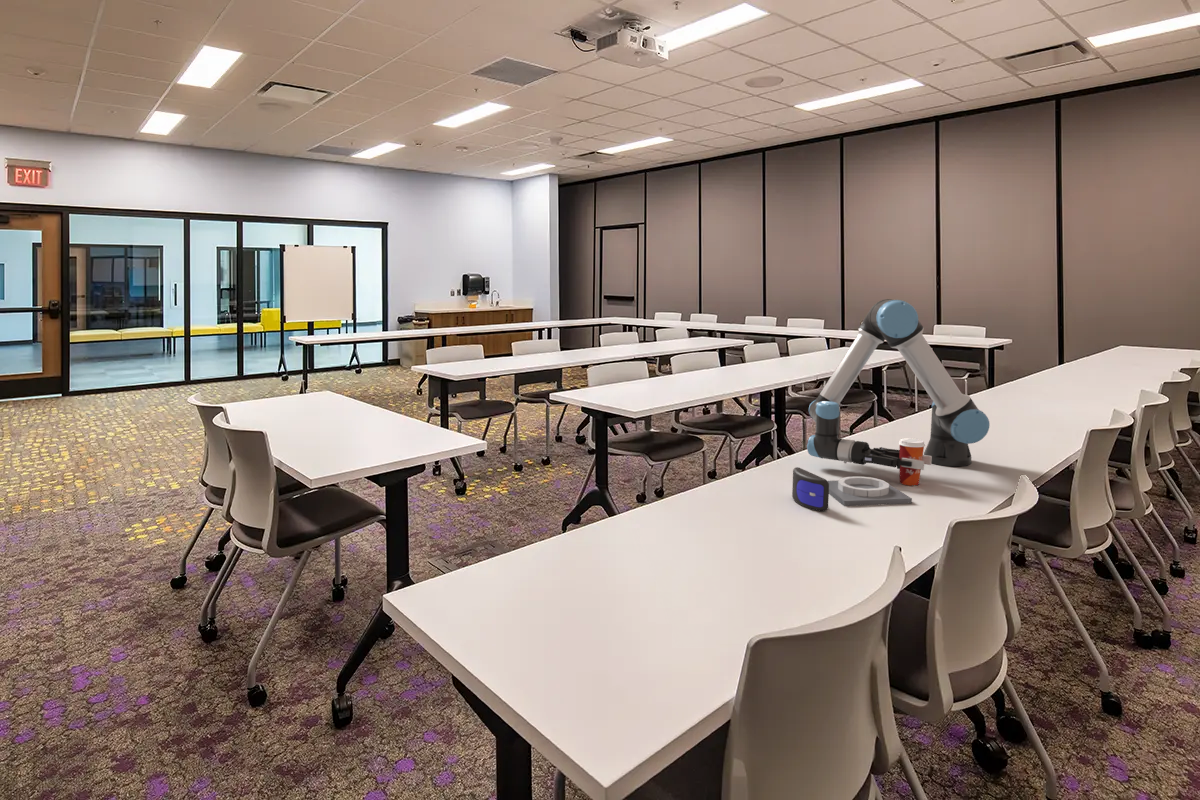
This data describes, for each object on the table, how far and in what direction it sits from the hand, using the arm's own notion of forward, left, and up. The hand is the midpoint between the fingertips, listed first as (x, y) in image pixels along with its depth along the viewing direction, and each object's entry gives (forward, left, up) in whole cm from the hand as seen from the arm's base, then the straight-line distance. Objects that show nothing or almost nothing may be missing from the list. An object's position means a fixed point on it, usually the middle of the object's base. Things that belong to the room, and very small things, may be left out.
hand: (927, 462), depth 216 cm
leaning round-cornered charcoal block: (+42, +12, -8) cm, 44 cm away
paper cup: (+3, -4, -8) cm, 9 cm away
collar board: (+23, +5, -8) cm, 24 cm away
